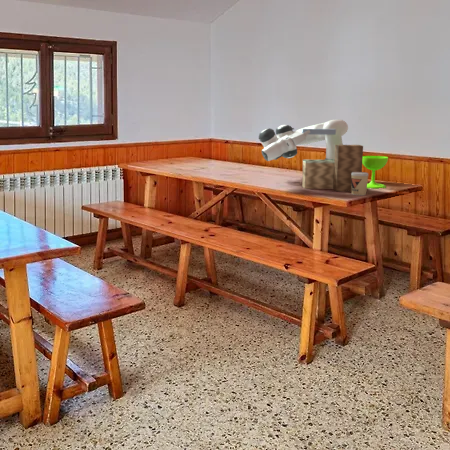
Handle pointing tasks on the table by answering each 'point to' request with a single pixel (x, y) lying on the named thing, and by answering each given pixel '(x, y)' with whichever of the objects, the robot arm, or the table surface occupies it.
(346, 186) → the tall brown box
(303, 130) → the batten
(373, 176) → the wineglass
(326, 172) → the zigzag patterned box
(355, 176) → the coffee cup
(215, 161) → the table surface
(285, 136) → the robot arm
